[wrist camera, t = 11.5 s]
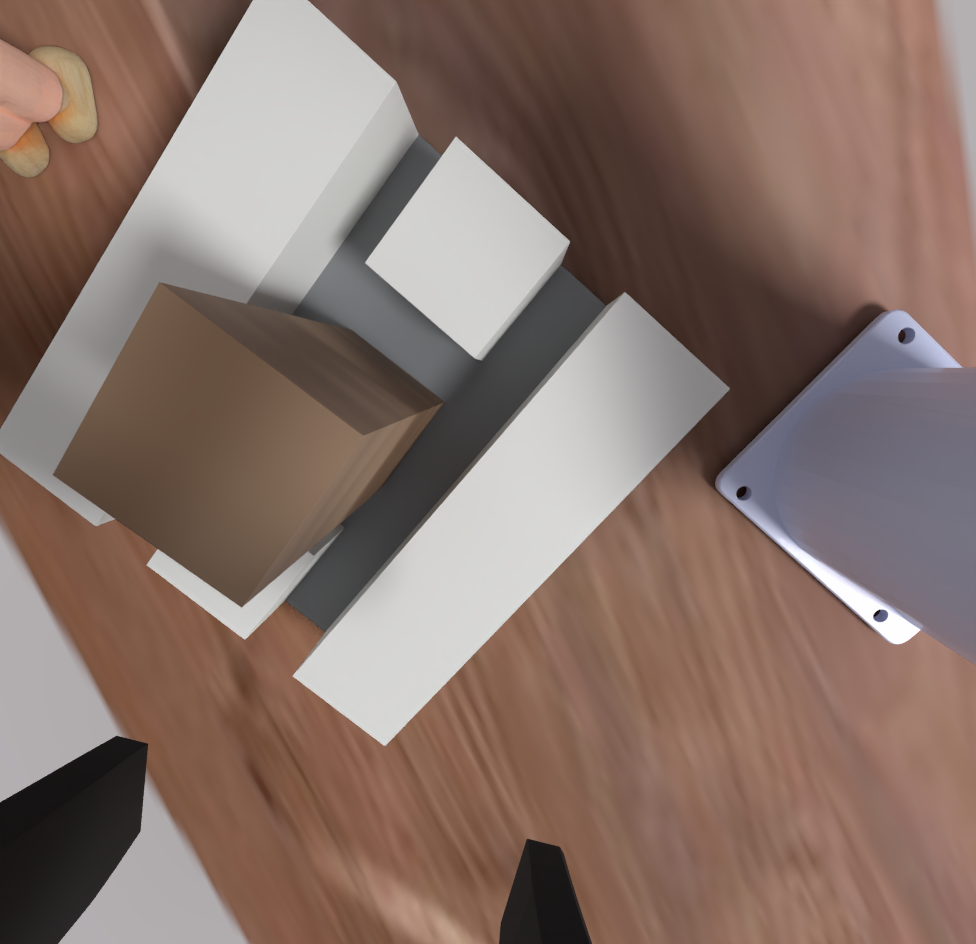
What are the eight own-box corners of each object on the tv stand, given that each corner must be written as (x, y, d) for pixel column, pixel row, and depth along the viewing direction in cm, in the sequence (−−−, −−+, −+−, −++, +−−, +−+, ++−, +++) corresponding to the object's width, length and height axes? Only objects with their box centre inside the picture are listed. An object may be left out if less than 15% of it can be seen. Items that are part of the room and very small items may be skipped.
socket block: (686, 385, 17) (730, 388, 13) (407, 681, 20) (384, 746, 16) (326, 57, 15) (272, -33, 12) (88, 432, 18) (-10, 446, 15)
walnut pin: (444, 402, 17) (363, 435, 8) (380, 488, 17) (241, 607, 9) (351, 330, 16) (159, 282, 8) (290, 422, 17) (52, 474, 8)
